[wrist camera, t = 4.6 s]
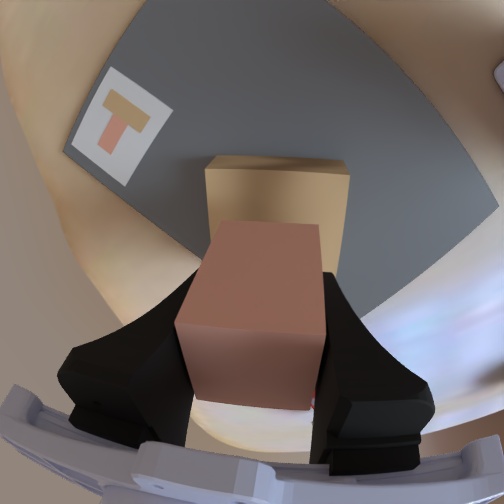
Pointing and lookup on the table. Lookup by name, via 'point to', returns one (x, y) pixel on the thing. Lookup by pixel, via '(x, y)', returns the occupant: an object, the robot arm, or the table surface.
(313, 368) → the pillar
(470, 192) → the board
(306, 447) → the table surface
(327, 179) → the slab
